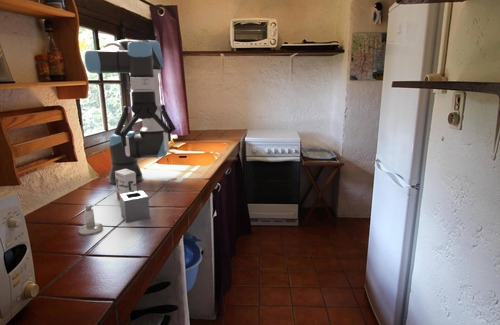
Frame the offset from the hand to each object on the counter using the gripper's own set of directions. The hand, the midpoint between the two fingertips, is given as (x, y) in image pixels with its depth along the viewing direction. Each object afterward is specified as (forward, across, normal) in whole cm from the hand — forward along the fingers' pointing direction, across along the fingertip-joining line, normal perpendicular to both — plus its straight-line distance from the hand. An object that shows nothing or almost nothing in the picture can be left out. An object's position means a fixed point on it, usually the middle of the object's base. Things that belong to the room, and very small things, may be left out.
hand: (147, 153), depth 118 cm
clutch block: (+22, -6, +1) cm, 23 cm away
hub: (+22, -21, -3) cm, 31 cm away
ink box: (+23, -4, +21) cm, 31 cm away
